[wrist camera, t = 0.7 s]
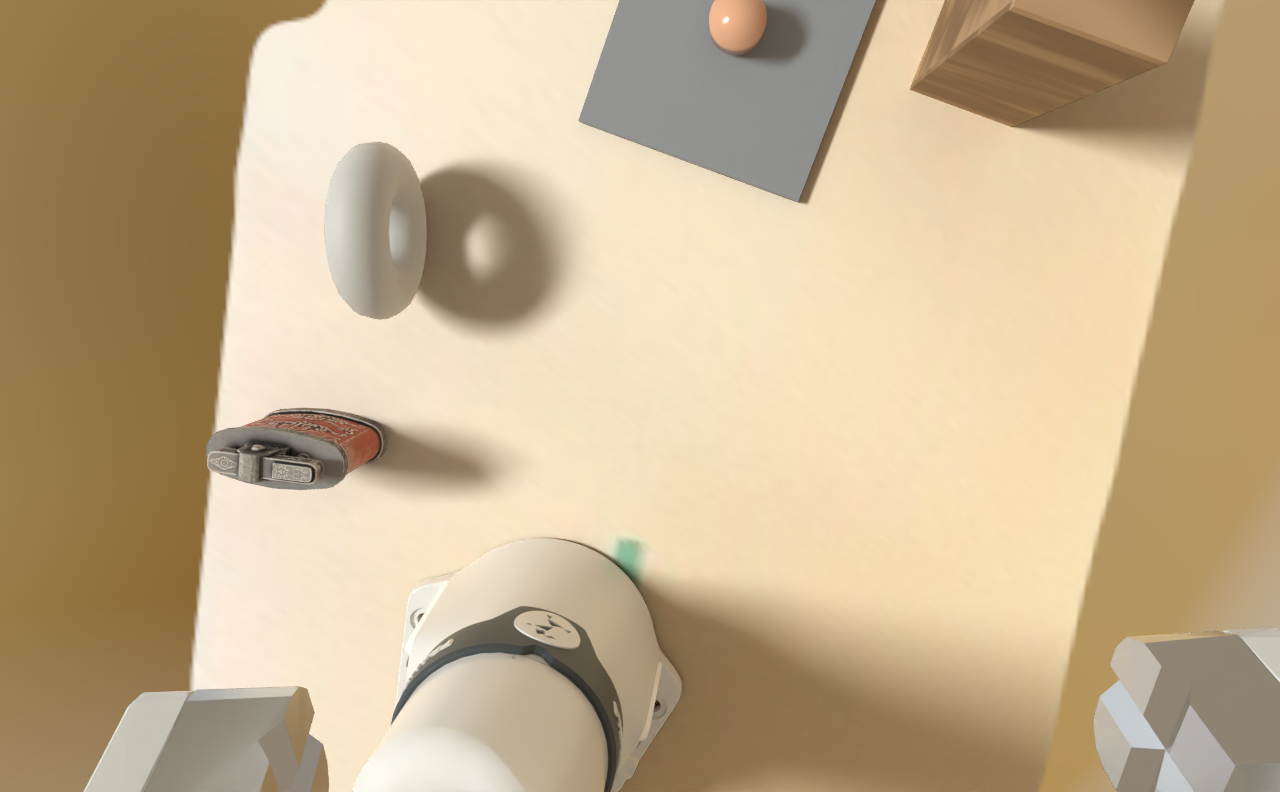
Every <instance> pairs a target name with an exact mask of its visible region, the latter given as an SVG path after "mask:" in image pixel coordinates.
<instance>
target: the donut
mask: <svg viewBox="0 0 1280 792" xmlns="http://www.w3.org/2000/svg"><path fill="white" fill-rule="evenodd" d="M324 233H325V246H326V254H327V258H328V263H329V267H330V272H331V275H332V278H333V281H334V283H335V285H336V288H337V290H338V292H339V294H340V296H341V297H342V298H343V299H344V300H345V301H346V303H347V304H348V305H349V306H350V307H351V308H352V310H353V311H355V312H356V313H358V314H360V315H362V316H366V317H370V318H375V319H388V318H390V317H392V316H395V315H397V314H398V313H400V312H401V311H403V310H404V309H405V308H406V307H407V306H408V305H409V304H410V303H411V301H412V299H413V298H414V296H415V294H416V292H417V290H418V287H419V284H420V281H421V278H422V275H423V271H424V264H425V258H426V246H427V223H426V210H425V204H424V197H423V193H422V189H421V186H420V182H419V179H418V177H417V174H416V172H415V170H414V168H413V166H412V165H411V163H410V161H409V160H408V159H407V158H406V156H405V155H404V154H402V153H401V152H400V151H399V150H397V149H396V148H395V147H393V146H391V145H389V144H388V143H383V142H372V143H364V144H359V145H357V146H355V147H353V148H352V149H351V150H350V151H349V152H348V153H347V154H346V155H345V156H344V157H343V158H342V159H341V161H340V162H339V163H338V164H337V167H336V169H335V171H334V174H333V176H332V179H331V181H330V185H329V190H328V195H327V200H326V205H325V222H324Z"/></svg>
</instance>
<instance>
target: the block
mask: <svg viewBox="0 0 1280 792" xmlns="http://www.w3.org/2000/svg"><path fill="white" fill-rule="evenodd" d="M1194 1H1195V0H945V2H944V5H943V7H942V10H941V12H940V15H939V17H938V20H937V22H936V25H935V27H934V30H933V32H932V35H931V38H930V40H929V43H928V45H927V48H926V50H925V53H924V55H923V58H922V60H921V63H920V65H919V68H918V70H917V73H916V75H915V78H914V80H913V83H912V85H911V88H910V90H913V91H915V92H918V93H921V94H924V95H926V96H929V97H932V98H935V99H937V100H940V101H943V102H945V103H948V104H951V105H954V106H956V107H959V108H962V109H964V110H967V111H970V112H973V113H975V114H978V115H981V116H984V117H986V118H989V119H992V120H994V121H997V122H1000V123H1003V124H1005V125H1008V126H1011V127H1013V126H1016V125H1018V124H1021V123H1023V122H1025V121H1028V120H1030V119H1033V118H1035V117H1037V116H1040V115H1042V114H1045V113H1047V112H1050V111H1052V110H1054V109H1057V108H1059V107H1062V106H1064V105H1066V104H1069V103H1071V102H1074V101H1076V100H1078V99H1081V98H1083V97H1086V96H1088V95H1090V94H1093V93H1095V92H1098V91H1100V90H1103V89H1105V88H1107V87H1110V86H1112V85H1115V84H1117V83H1119V82H1122V81H1124V80H1127V79H1129V78H1131V77H1134V76H1136V75H1139V74H1141V73H1144V72H1146V71H1148V70H1151V69H1153V68H1156V67H1158V66H1160V65H1163V64H1165V63H1167V62H1168V60H1169V57H1170V55H1171V53H1172V51H1173V48H1174V46H1175V44H1176V41H1177V39H1178V37H1179V35H1180V32H1181V30H1182V28H1183V26H1184V23H1185V21H1186V19H1187V16H1188V14H1189V12H1190V10H1191V7H1192V5H1193V3H1194Z"/></svg>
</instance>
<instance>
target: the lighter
mask: <svg viewBox="0 0 1280 792" xmlns="http://www.w3.org/2000/svg"><path fill="white" fill-rule="evenodd" d="M386 447H387V435H386V432H385V430H384V428H383V427H382V426H381V425H380V424H379V423H377V422H375V421H372V420H369V419H366V418H363V417H360V416H357V415H354V414H350V413H345V412H340V411H335V410H330V409H317V408H292V409H280V410H276V411H274V412H271V413H269V414H268V415H266V416H265V417H264V418H263V419H261V420H258V421H255V422H253V423H250V424H247V425H245V426H242V427H238V428H228V429H224V430H221V431H218V432H216V433H215V434H214V435H213V436H211V438H210V440H209V441H208V443H207V448H206V455H207V465H208V468H209V470H211V471H213V472H217V473H219V474H221V475H224V476H227V477H230V478H233V479H236V480H239V481H242V482H246V483H250V484H255V485H260V486H265V487H270V488H278V489H294V490H307V489H325V488H330V487H333V486H335V485H336V484H338V483H339V482H340V481H342V480H343V479H344V477H345V476H346V474H348V473H349V472H351V471H353V470H354V469H356V468H358V467H359V466H361V465H362V464H364V463H370V462H373V461H375V460H376V459H378V458H379V457H380V456H382V455H383V453H384V452H385V450H386Z"/></svg>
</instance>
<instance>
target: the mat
mask: <svg viewBox="0 0 1280 792" xmlns="http://www.w3.org/2000/svg"><path fill="white" fill-rule="evenodd" d="M714 1H715V0H620V1H619V4H618V7H617V9H616V12H615V15H614V18H613V21H612V24H611V27H610V30H609V33H608V36H607V39H606V42H605V45H604V48H603V51H602V53H601V56H600V59H599V62H598V65H597V68H596V71H595V74H594V77H593V80H592V83H591V86H590V89H589V92H588V94H587V97H586V100H585V103H584V106H583V109H582V112H581V115H580V118H579V122H581V123H584V124H586V125H589V126H592V127H595V128H597V129H600V130H603V131H605V132H608V133H611V134H614V135H616V136H619V137H622V138H624V139H627V140H630V141H633V142H635V143H638V144H641V145H643V146H646V147H649V148H651V149H654V150H657V151H660V152H662V153H665V154H668V155H670V156H673V157H676V158H679V159H681V160H684V161H687V162H689V163H692V164H695V165H698V166H700V167H703V168H706V169H708V170H711V171H714V172H717V173H719V174H722V175H725V176H727V177H730V178H733V179H735V180H738V181H741V182H744V183H746V184H749V185H752V186H754V187H757V188H760V189H763V190H765V191H768V192H771V193H773V194H776V195H779V196H782V197H784V198H787V199H790V200H792V201H795V202H798V201H799V198H800V196H801V193H802V191H803V188H804V185H805V183H806V180H807V178H808V175H809V172H810V170H811V167H812V165H813V162H814V159H815V157H816V154H817V152H818V149H819V146H820V144H821V141H822V139H823V136H824V133H825V131H826V128H827V126H828V123H829V120H830V118H831V115H832V113H833V110H834V107H835V105H836V102H837V100H838V97H839V95H840V92H841V89H842V87H843V84H844V82H845V79H846V76H847V74H848V71H849V69H850V66H851V63H852V61H853V58H854V56H855V53H856V50H857V48H858V45H859V43H860V40H861V37H862V35H863V32H864V30H865V27H866V24H867V22H868V19H869V17H870V14H871V11H872V9H873V6H874V4H875V1H876V0H762V1H763V3H764V5H765V7H766V12H767V21H766V26H765V30H764V33H763V36H762V39H761V40H760V42H759V43H758V45H757V46H756V47H755V48H754V49H753V50H751V51H749V52H748V53H745V54H742V55H730V54H727V53H724V52H722V51H721V50H720V49H718V48H717V47H716V46H715V44H714V43H713V41H712V39H711V37H710V33H709V14H710V10H711V7H712V4H713V3H714Z"/></svg>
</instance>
